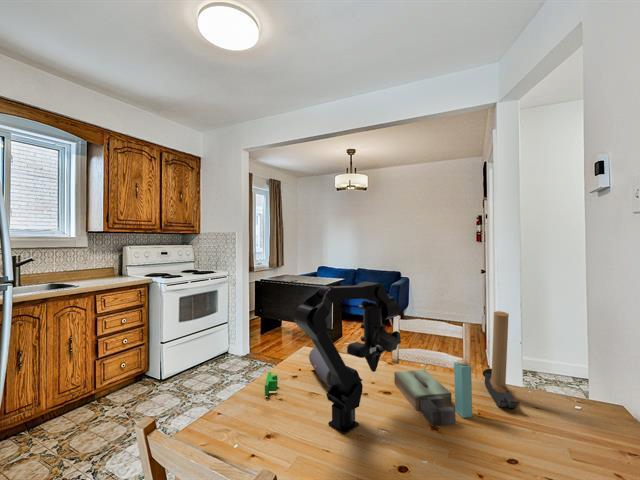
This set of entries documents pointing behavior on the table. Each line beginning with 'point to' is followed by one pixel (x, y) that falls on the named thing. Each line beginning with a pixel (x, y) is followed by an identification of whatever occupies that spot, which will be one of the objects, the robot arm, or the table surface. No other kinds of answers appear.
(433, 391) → the toolbox
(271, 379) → the pipe clamp
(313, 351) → the bluetooth speaker
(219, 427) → the table surface
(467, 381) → the teal rectangular block
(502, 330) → the hammer
